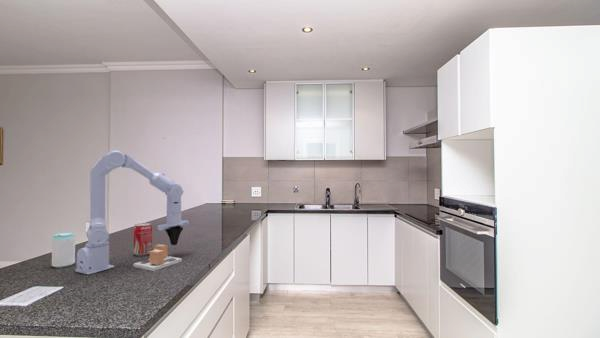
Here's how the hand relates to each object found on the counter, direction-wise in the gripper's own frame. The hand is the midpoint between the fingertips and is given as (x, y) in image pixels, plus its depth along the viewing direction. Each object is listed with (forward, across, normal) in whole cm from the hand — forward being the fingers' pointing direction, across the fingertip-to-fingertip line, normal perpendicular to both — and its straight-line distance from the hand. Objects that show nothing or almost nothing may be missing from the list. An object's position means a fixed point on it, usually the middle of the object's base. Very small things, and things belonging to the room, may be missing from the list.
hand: (174, 244), depth 130 cm
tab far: (+3, -7, 0) cm, 7 cm away
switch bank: (+5, -10, -3) cm, 12 cm away
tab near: (+3, -13, -6) cm, 15 cm away
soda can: (+5, -3, +15) cm, 16 cm away
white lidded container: (+5, -27, +28) cm, 39 cm away
